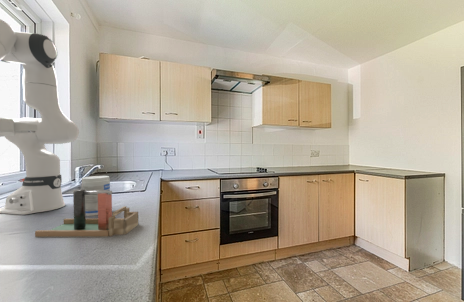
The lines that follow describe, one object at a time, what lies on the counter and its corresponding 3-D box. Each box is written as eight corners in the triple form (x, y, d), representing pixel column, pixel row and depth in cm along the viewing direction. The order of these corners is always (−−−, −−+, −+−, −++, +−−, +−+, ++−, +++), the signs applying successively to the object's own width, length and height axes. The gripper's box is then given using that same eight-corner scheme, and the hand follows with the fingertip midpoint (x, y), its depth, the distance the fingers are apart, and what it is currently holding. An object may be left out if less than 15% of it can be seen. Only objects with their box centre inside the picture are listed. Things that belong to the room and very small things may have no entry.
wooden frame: (108, 238, 61) (108, 214, 61) (127, 225, 72) (127, 204, 72) (123, 238, 61) (123, 214, 61) (139, 225, 72) (139, 204, 72)
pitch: (35, 239, 61) (35, 231, 61) (65, 225, 72) (65, 218, 72) (108, 239, 61) (107, 231, 61) (127, 225, 72) (127, 218, 72)
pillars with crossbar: (71, 229, 65) (70, 191, 65) (78, 226, 68) (78, 189, 68) (108, 229, 65) (108, 191, 65) (114, 225, 68) (114, 189, 68)
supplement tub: (111, 214, 83) (110, 177, 83) (81, 219, 78) (80, 179, 78) (109, 209, 91) (108, 174, 91) (82, 212, 86) (81, 176, 86)
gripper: (-46, 108, 48) (38, 114, 57) (-30, 117, 62) (34, 121, 72) (-45, 136, 48) (38, 138, 57) (-30, 139, 62) (35, 140, 72)
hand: (36, 129), depth 65 cm, fingers open, 8 cm apart
